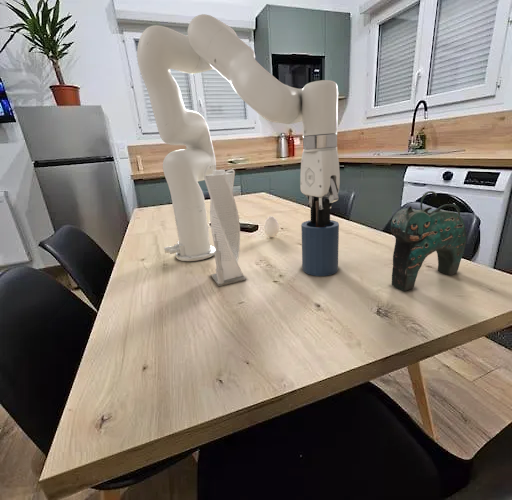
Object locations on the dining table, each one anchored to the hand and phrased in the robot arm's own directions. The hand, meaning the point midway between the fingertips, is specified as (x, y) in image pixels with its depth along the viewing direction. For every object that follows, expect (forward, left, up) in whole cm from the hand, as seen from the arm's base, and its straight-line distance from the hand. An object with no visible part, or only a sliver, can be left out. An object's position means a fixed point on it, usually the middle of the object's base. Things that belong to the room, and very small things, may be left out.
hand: (320, 223), depth 72 cm
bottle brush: (0, 0, -10) cm, 10 cm away
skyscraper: (-22, +8, -12) cm, 27 cm away
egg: (+2, +33, -12) cm, 35 cm away
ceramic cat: (+16, -17, -12) cm, 26 cm away
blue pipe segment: (0, 0, -12) cm, 12 cm away
